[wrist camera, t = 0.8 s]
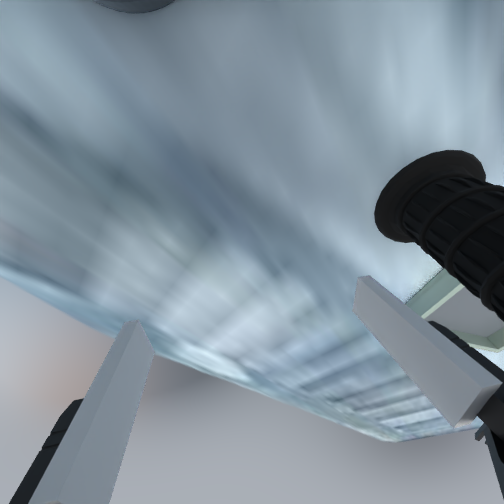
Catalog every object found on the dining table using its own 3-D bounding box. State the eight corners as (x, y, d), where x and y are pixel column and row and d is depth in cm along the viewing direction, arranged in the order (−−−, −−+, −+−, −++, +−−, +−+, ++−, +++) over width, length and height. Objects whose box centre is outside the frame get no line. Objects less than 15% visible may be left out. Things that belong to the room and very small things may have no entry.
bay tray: (489, 225, 23) (514, 239, 20) (608, 260, 24) (644, 275, 22) (391, 316, 32) (401, 332, 30) (482, 336, 34) (497, 352, 32)
